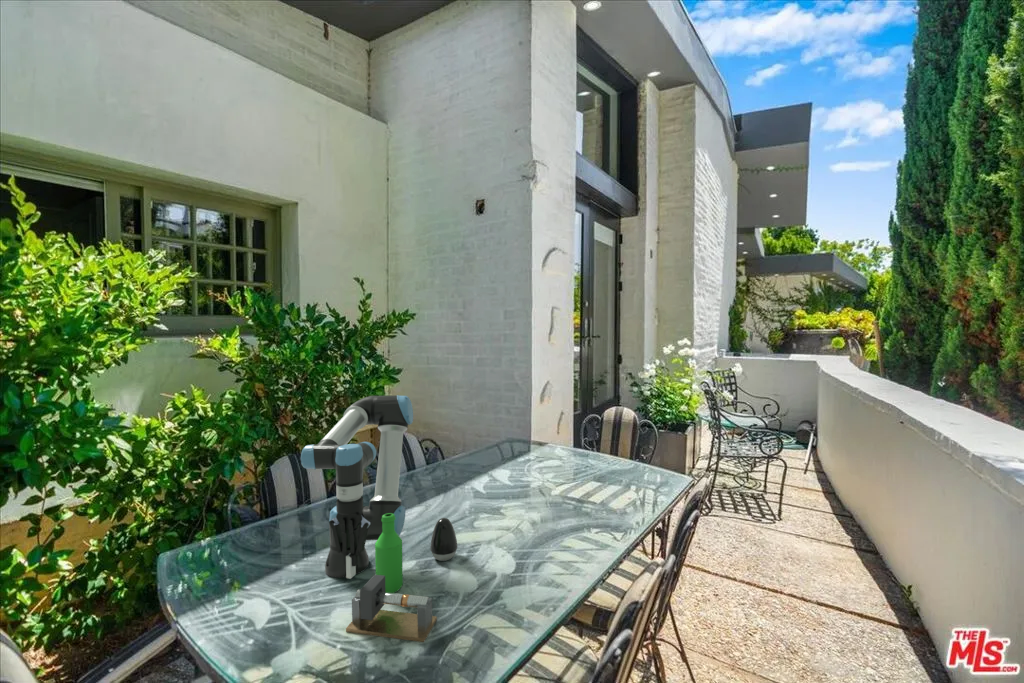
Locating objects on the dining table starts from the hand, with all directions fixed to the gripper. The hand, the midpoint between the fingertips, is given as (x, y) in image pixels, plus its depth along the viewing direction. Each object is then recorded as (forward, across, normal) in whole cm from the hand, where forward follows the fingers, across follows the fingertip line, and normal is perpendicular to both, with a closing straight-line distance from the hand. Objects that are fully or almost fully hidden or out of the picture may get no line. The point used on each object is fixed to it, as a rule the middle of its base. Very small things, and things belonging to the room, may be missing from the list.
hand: (351, 575), depth 135 cm
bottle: (+14, +3, +18) cm, 23 cm away
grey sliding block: (+10, +7, 0) cm, 12 cm away
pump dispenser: (+14, +14, +42) cm, 46 cm away
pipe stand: (+14, +13, 0) cm, 19 cm away
